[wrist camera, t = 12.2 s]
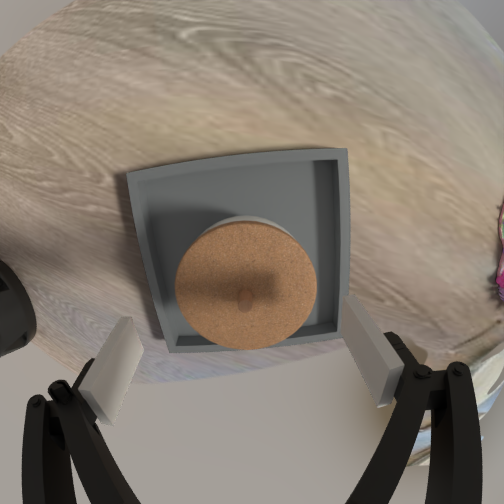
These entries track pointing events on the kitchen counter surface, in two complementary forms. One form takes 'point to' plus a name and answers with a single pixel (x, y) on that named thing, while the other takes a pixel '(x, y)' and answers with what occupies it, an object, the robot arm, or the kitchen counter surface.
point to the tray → (250, 204)
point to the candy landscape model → (503, 269)
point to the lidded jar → (245, 283)
